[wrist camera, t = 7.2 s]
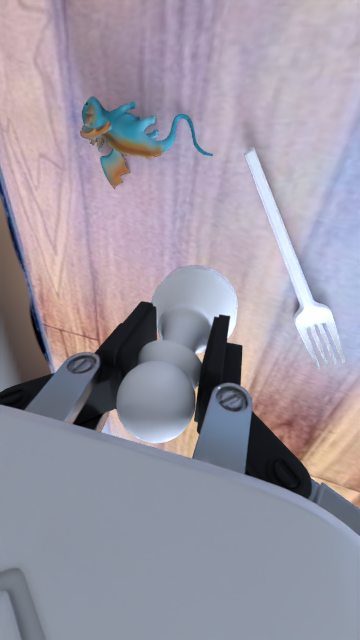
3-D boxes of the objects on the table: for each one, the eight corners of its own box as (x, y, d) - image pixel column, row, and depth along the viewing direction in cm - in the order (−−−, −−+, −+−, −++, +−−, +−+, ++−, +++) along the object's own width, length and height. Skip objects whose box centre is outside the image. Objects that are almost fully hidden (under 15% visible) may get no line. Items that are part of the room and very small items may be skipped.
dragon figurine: (170, 1, 14) (47, 61, 14) (219, 117, 14) (95, 174, 14) (176, 102, 20) (92, 141, 21) (209, 180, 20) (125, 218, 21)
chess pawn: (236, 260, 13) (215, 381, 5) (239, 336, 15) (227, 490, 8) (151, 266, 14) (44, 369, 7) (166, 335, 17) (99, 464, 9)
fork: (271, 135, 17) (273, 131, 15) (344, 349, 24) (350, 361, 22) (228, 164, 18) (226, 163, 17) (309, 357, 25) (312, 369, 24)
